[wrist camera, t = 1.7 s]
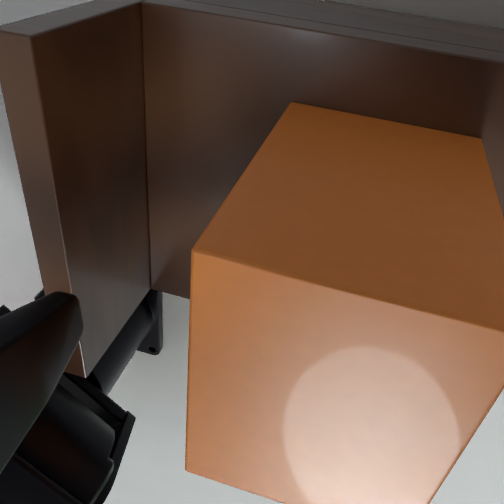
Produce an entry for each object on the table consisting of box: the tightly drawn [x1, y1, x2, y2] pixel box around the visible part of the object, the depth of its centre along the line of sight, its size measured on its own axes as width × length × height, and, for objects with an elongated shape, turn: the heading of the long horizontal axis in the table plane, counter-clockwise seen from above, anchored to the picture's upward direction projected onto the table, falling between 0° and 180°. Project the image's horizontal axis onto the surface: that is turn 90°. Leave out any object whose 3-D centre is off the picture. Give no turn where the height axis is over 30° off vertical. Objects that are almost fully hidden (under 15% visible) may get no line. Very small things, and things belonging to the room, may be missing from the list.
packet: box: [185, 102, 504, 504], centre depth 13 cm, size 7×6×8 cm
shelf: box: [0, 0, 504, 378], centre depth 16 cm, size 11×15×10 cm
